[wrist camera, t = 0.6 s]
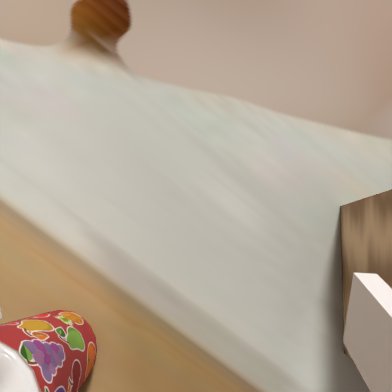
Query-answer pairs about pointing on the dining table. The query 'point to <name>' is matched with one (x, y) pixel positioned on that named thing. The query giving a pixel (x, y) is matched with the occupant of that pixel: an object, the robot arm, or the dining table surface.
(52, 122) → the dining table surface
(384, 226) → the carton
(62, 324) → the smoothie
